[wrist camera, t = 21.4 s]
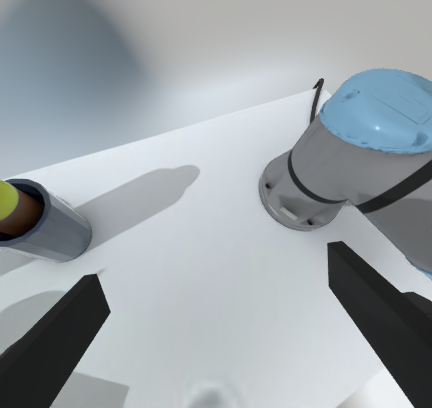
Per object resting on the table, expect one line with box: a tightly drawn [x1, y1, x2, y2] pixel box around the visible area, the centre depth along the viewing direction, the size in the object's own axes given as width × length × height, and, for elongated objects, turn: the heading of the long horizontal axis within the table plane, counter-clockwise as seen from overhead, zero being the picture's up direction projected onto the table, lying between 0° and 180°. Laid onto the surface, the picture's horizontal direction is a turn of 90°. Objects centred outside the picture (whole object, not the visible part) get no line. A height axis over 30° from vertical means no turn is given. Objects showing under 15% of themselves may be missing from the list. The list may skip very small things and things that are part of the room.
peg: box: [0, 180, 45, 237], centre depth 27 cm, size 4×4×16 cm
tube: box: [0, 179, 92, 263], centre depth 29 cm, size 8×8×12 cm
